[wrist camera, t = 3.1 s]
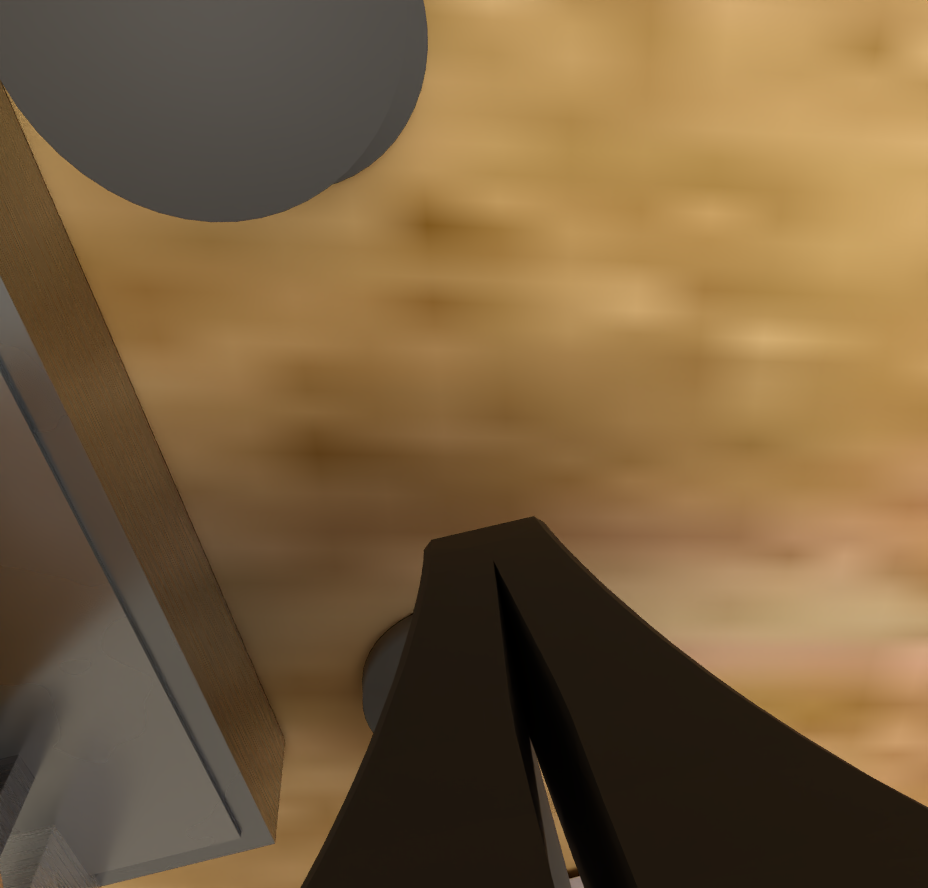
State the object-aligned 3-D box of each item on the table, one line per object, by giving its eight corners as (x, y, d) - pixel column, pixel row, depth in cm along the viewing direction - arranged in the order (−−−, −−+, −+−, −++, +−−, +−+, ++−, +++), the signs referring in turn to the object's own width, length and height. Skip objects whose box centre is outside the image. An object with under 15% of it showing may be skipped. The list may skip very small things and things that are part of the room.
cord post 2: (554, 717, 18) (663, 1072, 11) (386, 758, 18) (405, 1139, 11) (528, 584, 16) (642, 919, 10) (341, 628, 16) (334, 998, 9)
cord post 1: (448, 153, 12) (554, 254, 6) (196, 209, 12) (19, 373, 6) (388, -163, 10) (449, -535, 4) (87, -102, 10) (-358, -378, 4)
